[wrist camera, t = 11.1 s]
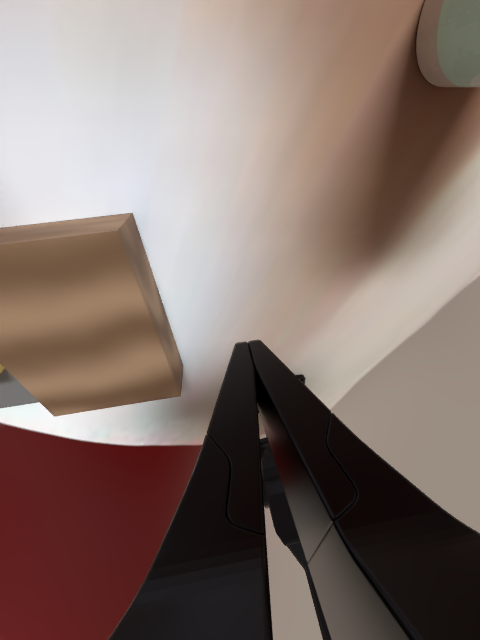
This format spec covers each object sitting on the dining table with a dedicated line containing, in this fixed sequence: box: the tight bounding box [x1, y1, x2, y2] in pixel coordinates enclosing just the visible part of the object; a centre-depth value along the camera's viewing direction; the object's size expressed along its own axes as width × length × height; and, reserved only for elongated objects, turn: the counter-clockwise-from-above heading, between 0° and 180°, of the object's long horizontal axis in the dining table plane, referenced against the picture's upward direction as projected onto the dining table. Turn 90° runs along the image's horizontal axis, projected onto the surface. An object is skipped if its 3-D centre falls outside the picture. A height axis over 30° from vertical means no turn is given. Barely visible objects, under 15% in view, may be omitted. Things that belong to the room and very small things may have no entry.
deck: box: [0, 213, 183, 416], centre depth 20 cm, size 16×12×4 cm
